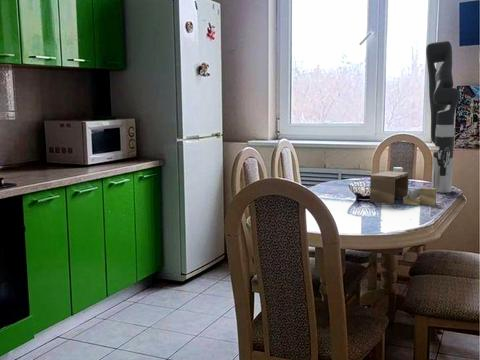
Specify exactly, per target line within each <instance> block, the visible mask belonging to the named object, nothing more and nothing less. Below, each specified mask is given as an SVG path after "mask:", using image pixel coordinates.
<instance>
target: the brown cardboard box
mask: <svg viewBox="0 0 480 360" xmlns="http://www.w3.org/2000/svg"><path fill="white" fill-rule="evenodd" d="M392 171H393V170H384V171H381V172H376V173H372V174H370V181H369V183H370V184H369V186H370V187H369V191H370V192H369V203H370V202H371V203H376V204H377V203H378V204H388V205H395V201H396V200H395V199H403V197H406V196H408V195H409V181H410V180H409V179H410V178H409V176H410V173H409V172H406V171H402V172H392Z"/></svg>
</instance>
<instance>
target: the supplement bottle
mask: <svg viewBox="0 0 480 360" xmlns="http://www.w3.org/2000/svg"><path fill="white" fill-rule="evenodd" d="M392 171H393V172H404V167H398V166H396V167H395V166H394V167H393V169H392Z"/></svg>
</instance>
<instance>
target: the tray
mask: <svg viewBox="0 0 480 360" xmlns="http://www.w3.org/2000/svg"><path fill="white" fill-rule="evenodd" d="M437 193H438V192H437V188H432V187H414V188H413V189H408V196H406V197H403V198H402V199H403V201H402V202H403V203H402V204H403V205H407V206H408V205H409V206H410V205H411V206H419V205H429V206H435V205H437Z"/></svg>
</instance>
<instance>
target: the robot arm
mask: <svg viewBox="0 0 480 360" xmlns="http://www.w3.org/2000/svg"><path fill="white" fill-rule="evenodd" d="M425 55H426V64H427V74H428V91H429V92H428V94H429V96H428V97H429V107H430V108H429V109H430V140H431V142H432V143H433V144H434V146H435V147H436V148H438V149H437V150H435V151H434V152H433V153H432V154H433V155H432V180H431V188H437V193H447V194H448V193H452V183H453V166H454V165H453V162H454V161H453V160H454V158H453V157H454V145H455V143H454V142H455V135H456V130H455V114H456V109H457V107H458V103H459V101H460V97H461V93H460V91H459V89H458V88H454V80H453V71H452V70H453V48H452V44H451V42H450V41H449V40H443V41H437V42H436V41H435V42H429V43H427V45H426V47H425ZM435 63H442V64H441V65H440V66H439V67H438V69H437V68H436V65H435ZM448 106H449V107H448ZM447 107H448V108H447Z"/></svg>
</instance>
